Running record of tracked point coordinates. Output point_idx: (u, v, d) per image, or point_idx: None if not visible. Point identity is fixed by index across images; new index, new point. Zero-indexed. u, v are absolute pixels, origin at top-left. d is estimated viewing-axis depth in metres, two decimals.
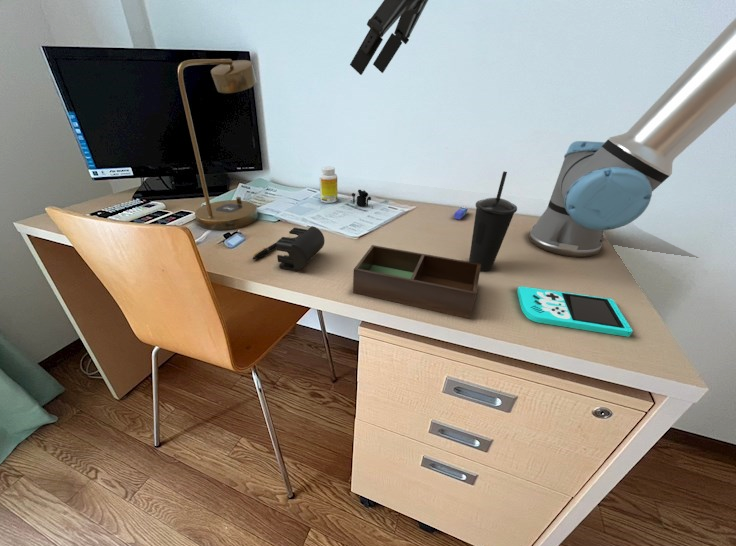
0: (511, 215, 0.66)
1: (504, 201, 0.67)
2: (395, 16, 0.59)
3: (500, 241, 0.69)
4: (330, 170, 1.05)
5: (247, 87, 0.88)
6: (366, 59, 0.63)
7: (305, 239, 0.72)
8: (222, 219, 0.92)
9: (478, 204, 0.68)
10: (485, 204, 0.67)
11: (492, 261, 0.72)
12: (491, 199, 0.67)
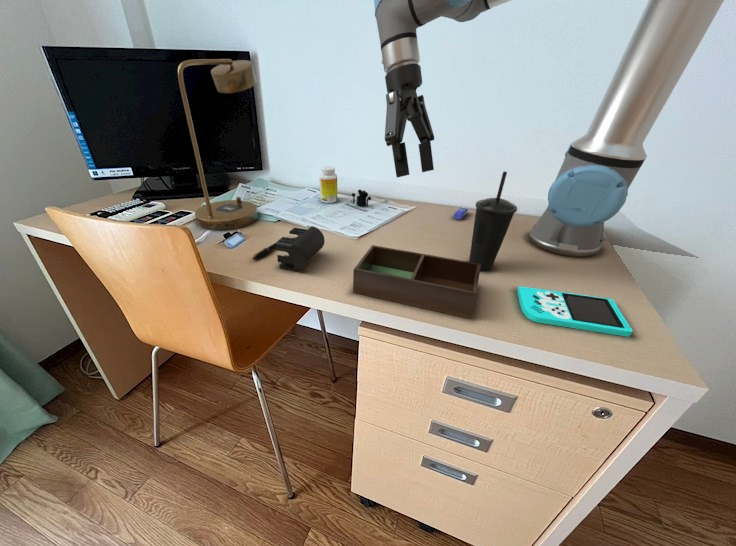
0: (511, 215, 0.66)
1: (504, 201, 0.67)
2: (401, 123, 0.71)
3: (500, 241, 0.69)
4: (330, 170, 1.05)
5: (247, 87, 0.88)
6: (404, 162, 0.72)
7: (305, 239, 0.72)
8: (222, 219, 0.92)
9: (478, 204, 0.68)
10: (485, 204, 0.67)
11: (492, 261, 0.72)
12: (491, 199, 0.67)
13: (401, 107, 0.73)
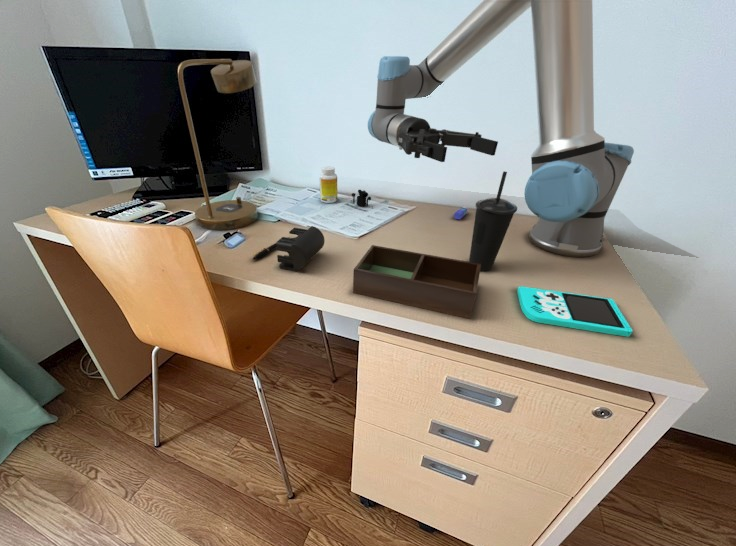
0: (511, 215, 0.66)
1: (504, 201, 0.67)
2: (417, 139, 0.75)
3: (500, 241, 0.69)
4: (330, 170, 1.05)
5: (247, 87, 0.88)
6: (435, 147, 0.69)
7: (305, 239, 0.72)
8: (222, 219, 0.92)
9: (478, 204, 0.68)
10: (485, 204, 0.67)
11: (492, 261, 0.72)
12: (491, 199, 0.67)
13: None
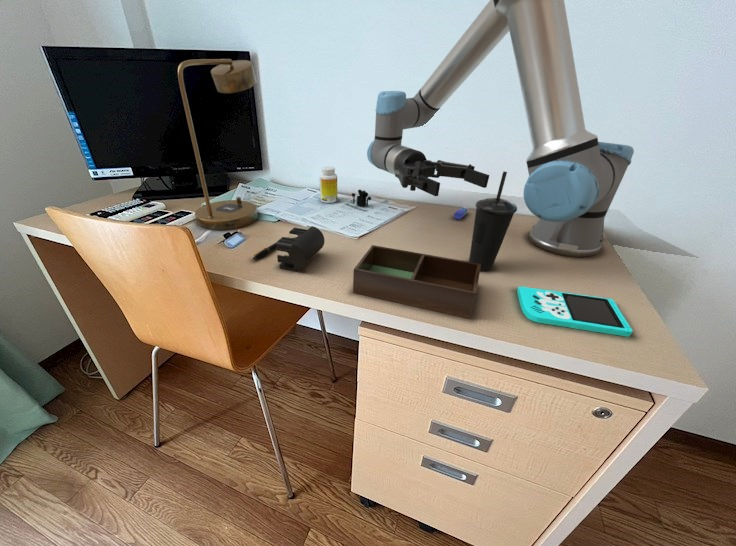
0: (511, 215, 0.66)
1: (504, 201, 0.67)
2: (413, 172, 0.79)
3: (500, 241, 0.69)
4: (330, 170, 1.05)
5: (247, 87, 0.88)
6: (429, 182, 0.73)
7: (305, 239, 0.72)
8: (222, 219, 0.92)
9: (478, 204, 0.68)
10: (485, 204, 0.67)
11: (492, 261, 0.72)
12: (491, 199, 0.67)
13: None
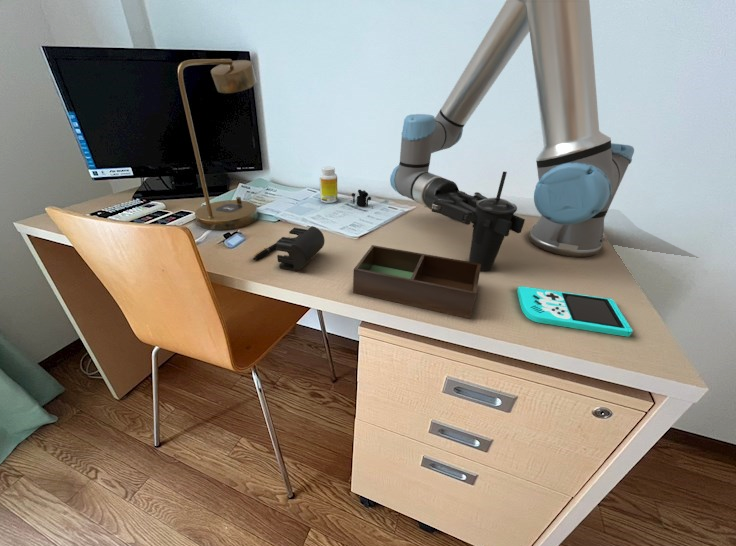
0: (511, 215, 0.66)
1: (504, 201, 0.67)
2: (465, 207, 0.72)
3: (500, 241, 0.69)
4: (330, 170, 1.05)
5: (247, 87, 0.88)
6: (497, 220, 0.66)
7: (305, 239, 0.72)
8: (222, 219, 0.92)
9: (478, 204, 0.68)
10: (485, 204, 0.67)
11: (492, 261, 0.72)
12: (491, 199, 0.67)
13: None
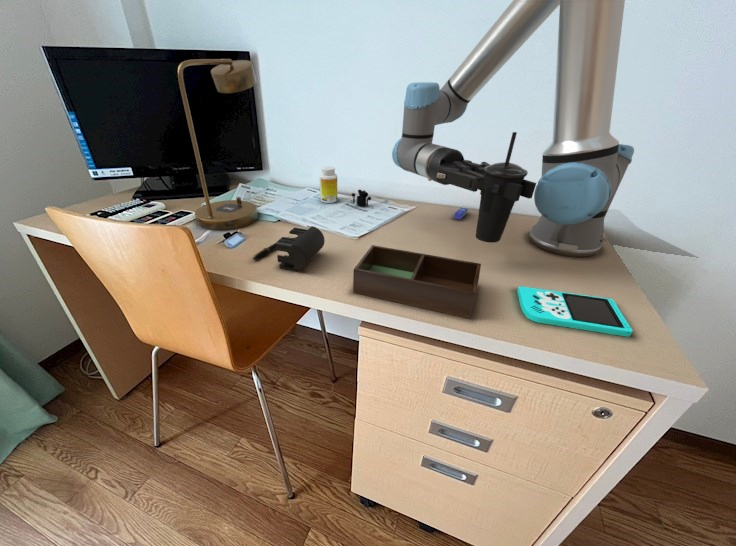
0: (521, 179, 0.62)
1: (514, 165, 0.63)
2: (472, 174, 0.68)
3: (509, 209, 0.66)
4: (330, 170, 1.05)
5: (247, 87, 0.88)
6: (507, 185, 0.62)
7: (305, 239, 0.72)
8: (222, 219, 0.92)
9: (486, 169, 0.64)
10: (493, 168, 0.63)
11: (501, 231, 0.69)
12: (500, 163, 0.64)
13: None
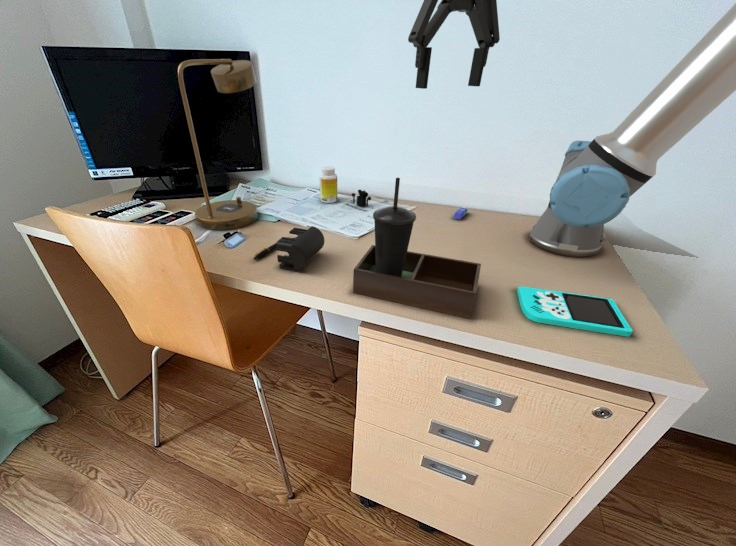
0: (408, 226, 0.60)
1: (401, 210, 0.60)
2: (435, 22, 0.62)
3: (401, 254, 0.63)
4: (330, 170, 1.05)
5: (247, 87, 0.88)
6: (424, 72, 0.66)
7: (305, 239, 0.72)
8: (222, 219, 0.92)
9: (375, 213, 0.62)
10: (380, 213, 0.60)
11: (397, 275, 0.66)
12: (388, 208, 0.61)
13: None
